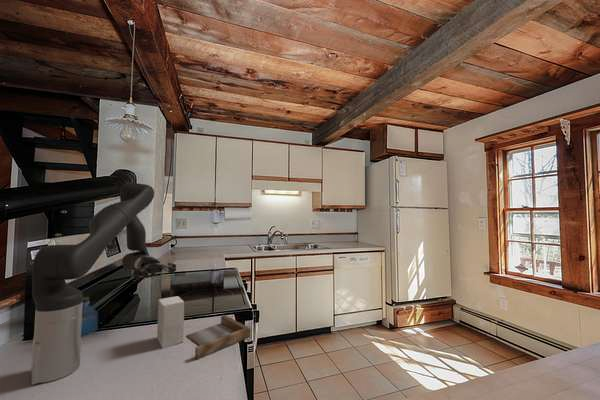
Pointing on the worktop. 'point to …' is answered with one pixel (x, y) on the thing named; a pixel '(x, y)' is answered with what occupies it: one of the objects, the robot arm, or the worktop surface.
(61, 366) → the robot arm
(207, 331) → the wooden tray
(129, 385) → the worktop surface
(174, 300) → the small box
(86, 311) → the perfume bottle
